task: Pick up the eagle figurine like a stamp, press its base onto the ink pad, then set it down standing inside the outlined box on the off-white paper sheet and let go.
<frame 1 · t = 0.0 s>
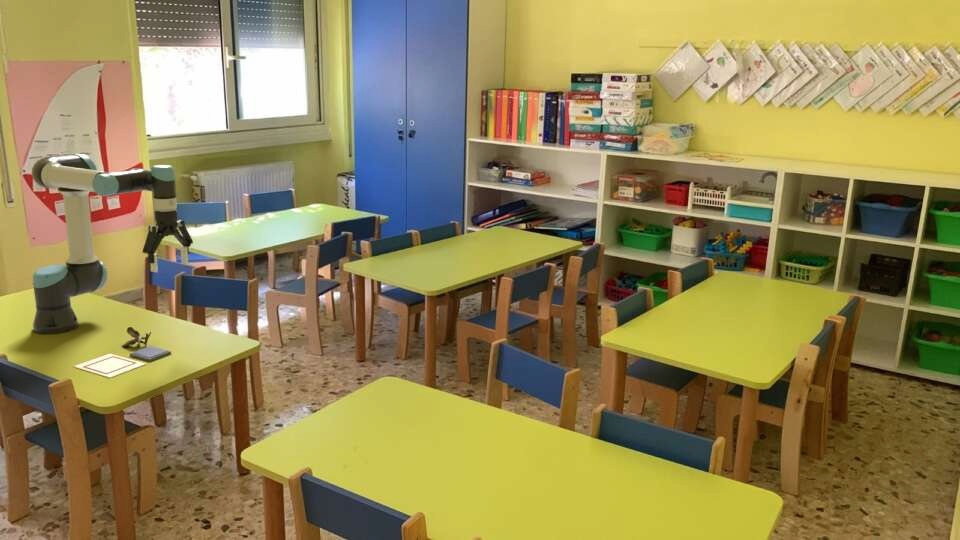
hand: (170, 267, 284), 28 cm above the table, fingers open, 13 cm apart
ink pad: (150, 354, 277), on the table
eagle figurine: (136, 346, 285), on the table
print sheet: (110, 365, 266), on the table
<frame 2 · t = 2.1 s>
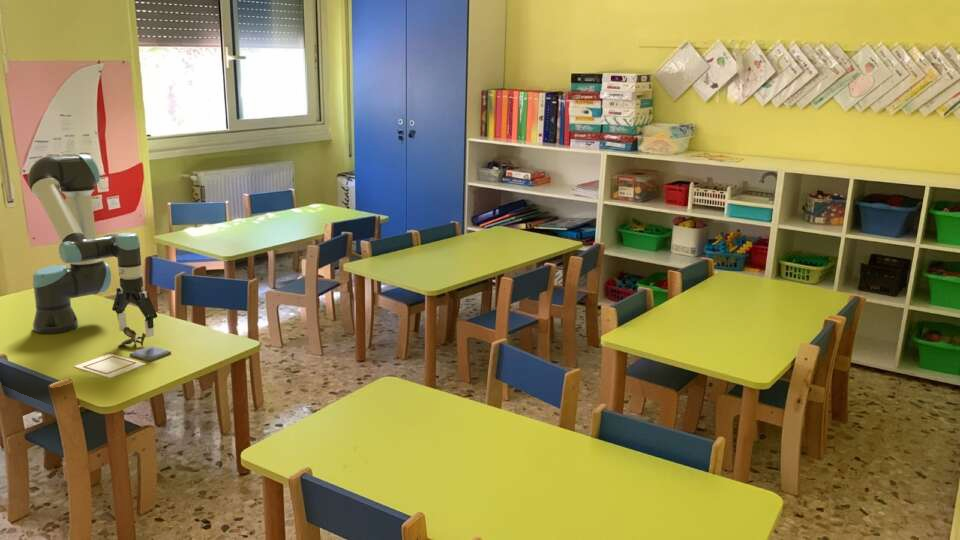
hand: (136, 333, 284), 4 cm above the table, fingers open, 13 cm apart
eagle figurine: (132, 346, 285), on the table, touching gripper
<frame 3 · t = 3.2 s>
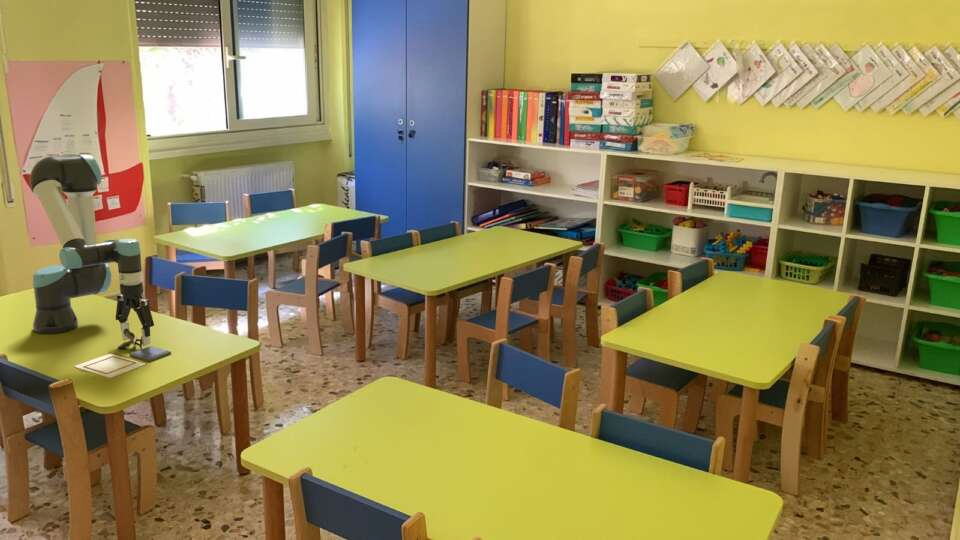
hand: (136, 342, 285), 1 cm above the table, fingers closed on eagle figurine, 10 cm apart
eagle figurine: (131, 347, 283), on the table, touching gripper
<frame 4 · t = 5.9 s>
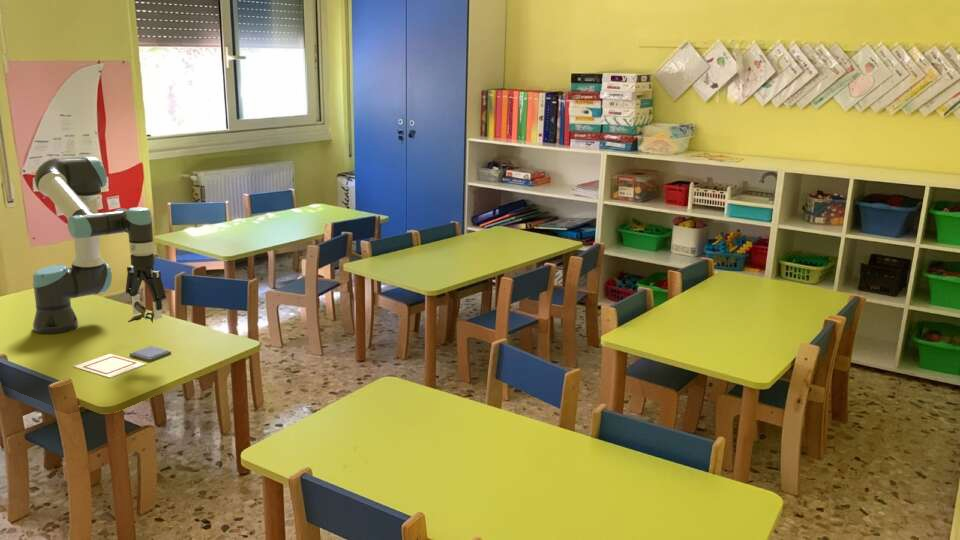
hand: (147, 316, 273), 14 cm above the table, fingers closed on eagle figurine, 10 cm apart
eagle figurine: (142, 322, 271), point 13 cm above the table, touching gripper
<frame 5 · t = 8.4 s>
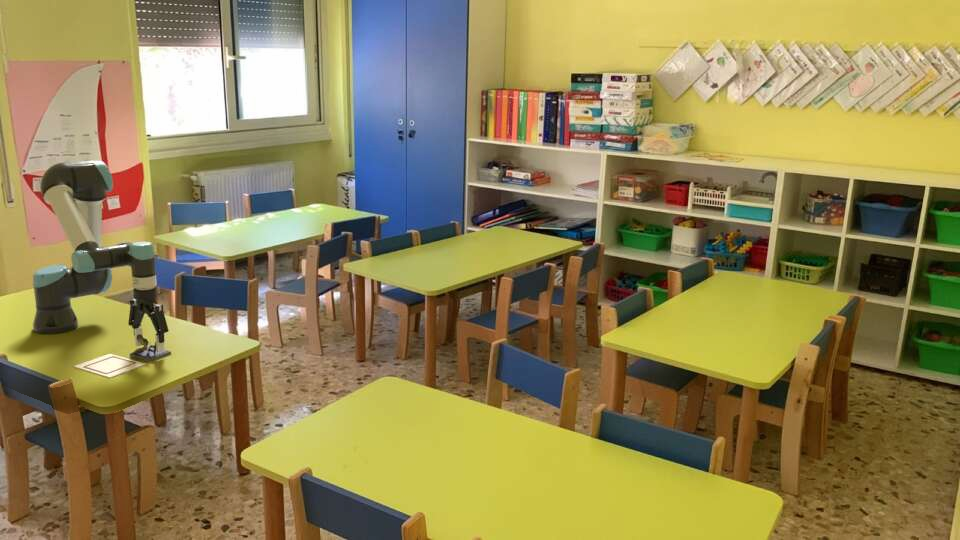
hand: (149, 348, 276), 2 cm above the table, fingers closed on eagle figurine, 10 cm apart
eagle figurine: (145, 354, 274), point 1 cm above the table, touching gripper, ink pad
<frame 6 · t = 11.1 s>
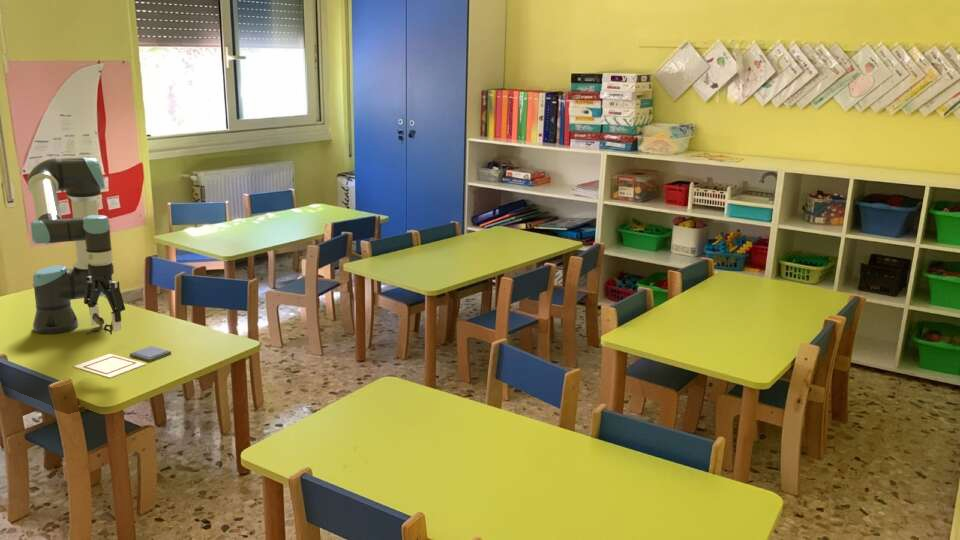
hand: (106, 327, 263), 14 cm above the table, fingers closed on eagle figurine, 10 cm apart
eagle figurine: (101, 334, 261), point 12 cm above the table, touching gripper
when the fingers open (3 cm above the table, at t = 13.4 s): eagle figurine stays where it is, resting on print sheet.
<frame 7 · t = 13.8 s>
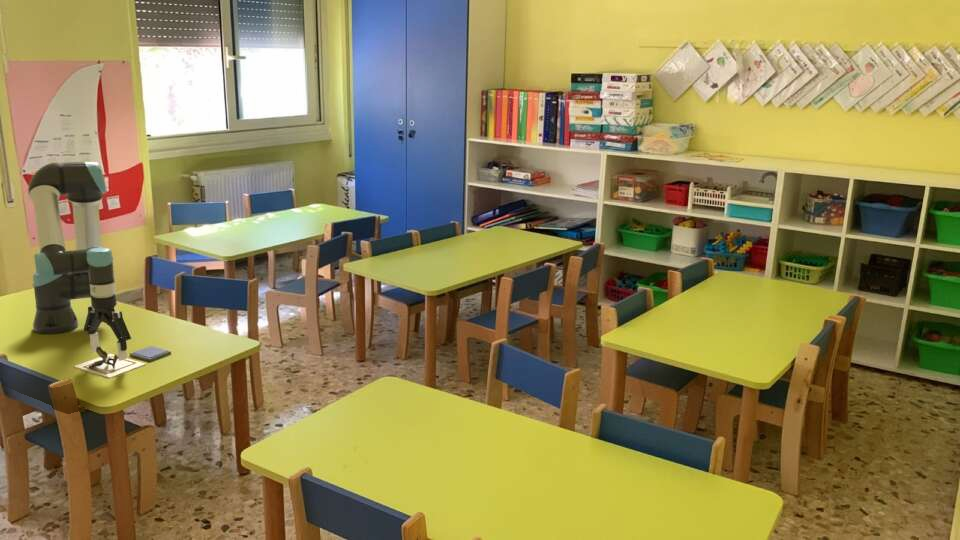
hand: (109, 355, 265), 4 cm above the table, fingers open, 13 cm apart
eagle figurine: (103, 367, 264), resting on print sheet
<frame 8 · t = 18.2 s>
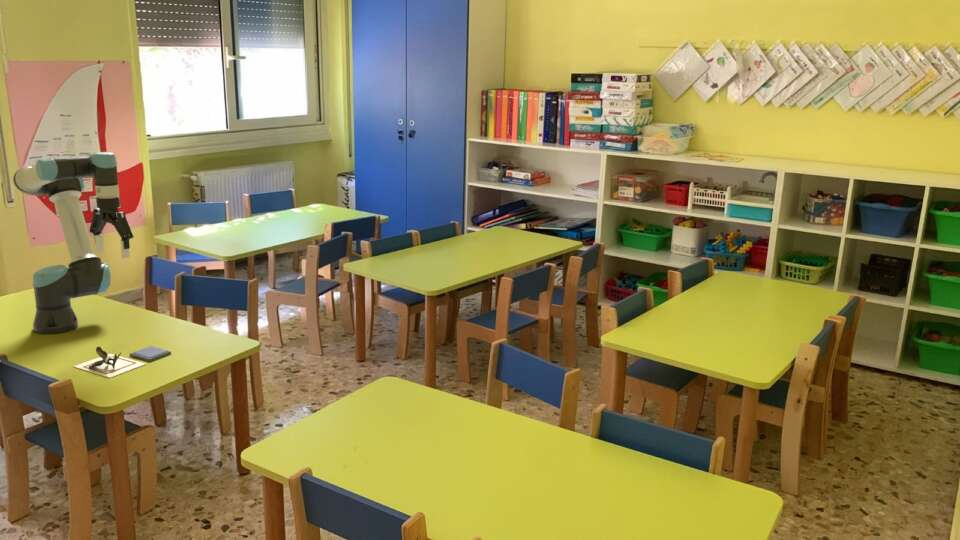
hand: (113, 255, 284), 32 cm above the table, fingers open, 13 cm apart
nothing on the table moved.
at the end: eagle figurine inside the target area on the print sheet (2.4 cm from its centre), point 0.2 cm above the print sheet's base; eagle figurine tilted 2°; the gripper is holding nothing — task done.
